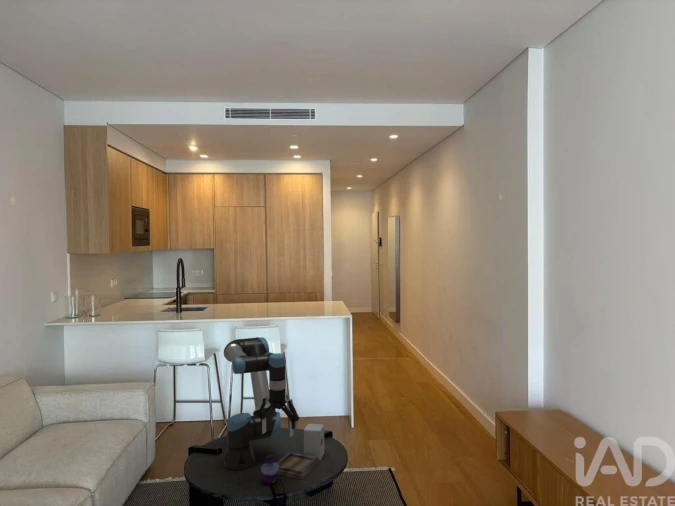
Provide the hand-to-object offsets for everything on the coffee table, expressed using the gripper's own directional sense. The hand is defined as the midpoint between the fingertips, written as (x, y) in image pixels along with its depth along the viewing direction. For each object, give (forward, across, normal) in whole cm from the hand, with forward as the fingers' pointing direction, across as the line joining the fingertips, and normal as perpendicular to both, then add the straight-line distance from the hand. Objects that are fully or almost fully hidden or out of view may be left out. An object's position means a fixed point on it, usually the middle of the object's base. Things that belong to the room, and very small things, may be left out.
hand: (277, 434), depth 213 cm
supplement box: (+22, +8, +27) cm, 35 cm away
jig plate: (+21, +4, +12) cm, 25 cm away
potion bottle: (+21, -3, -3) cm, 22 cm away
